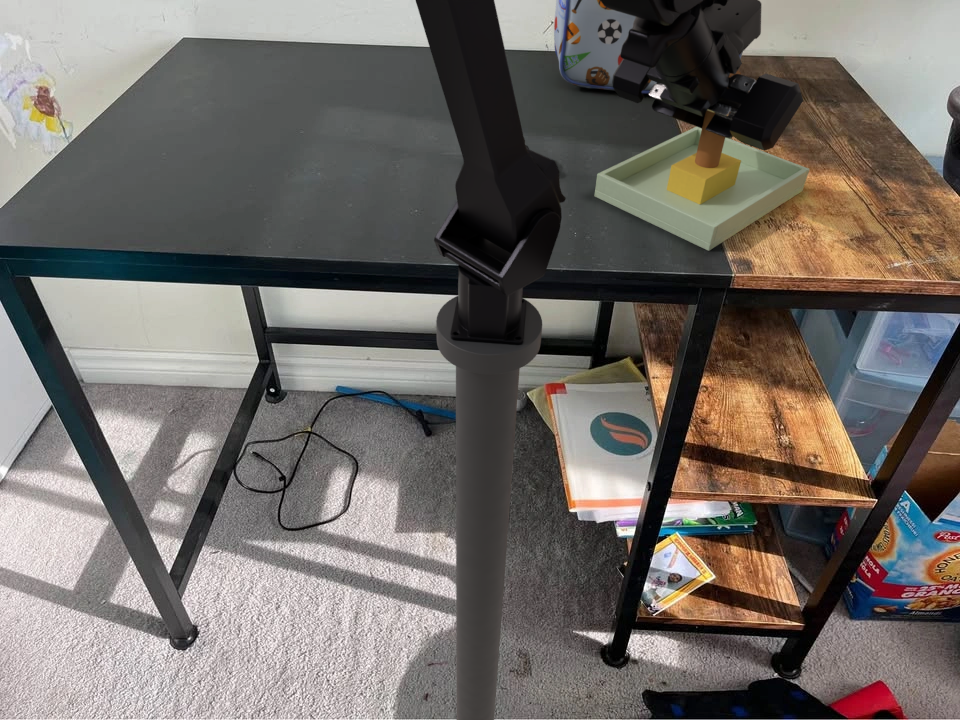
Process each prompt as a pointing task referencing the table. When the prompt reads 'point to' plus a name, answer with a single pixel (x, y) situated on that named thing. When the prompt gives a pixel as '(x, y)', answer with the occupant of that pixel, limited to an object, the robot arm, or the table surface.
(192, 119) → the table surface
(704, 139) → the sponge wand
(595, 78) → the lunch box
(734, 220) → the tray
